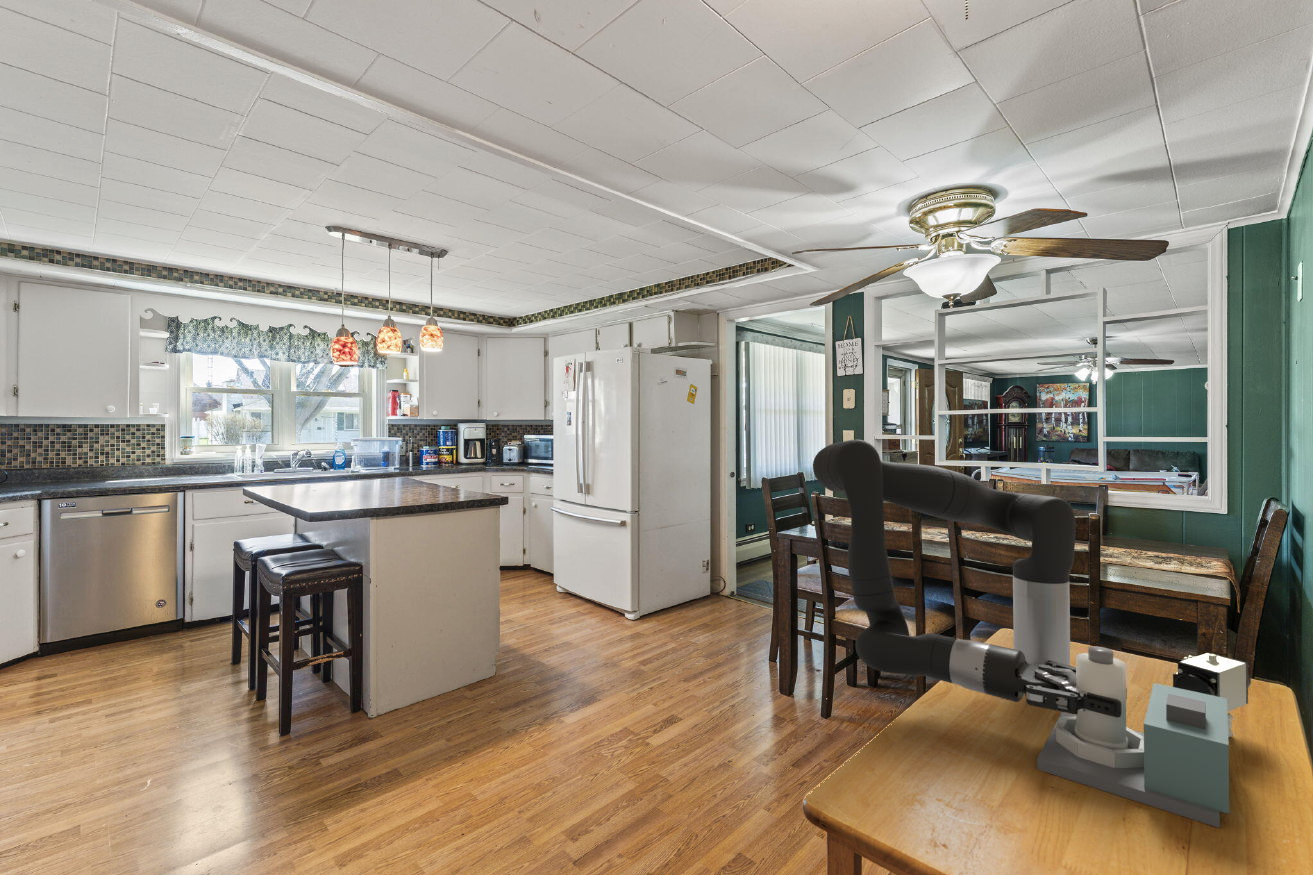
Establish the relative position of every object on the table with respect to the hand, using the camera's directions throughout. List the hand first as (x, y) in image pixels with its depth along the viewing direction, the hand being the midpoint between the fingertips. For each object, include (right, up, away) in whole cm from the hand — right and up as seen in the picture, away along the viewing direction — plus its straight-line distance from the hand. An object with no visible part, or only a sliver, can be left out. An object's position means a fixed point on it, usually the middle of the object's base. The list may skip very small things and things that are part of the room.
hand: (1123, 701), depth 82 cm
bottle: (-2, -6, +2) cm, 7 cm away
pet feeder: (+1, -9, 0) cm, 9 cm away
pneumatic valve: (+19, -9, +8) cm, 23 cm away
